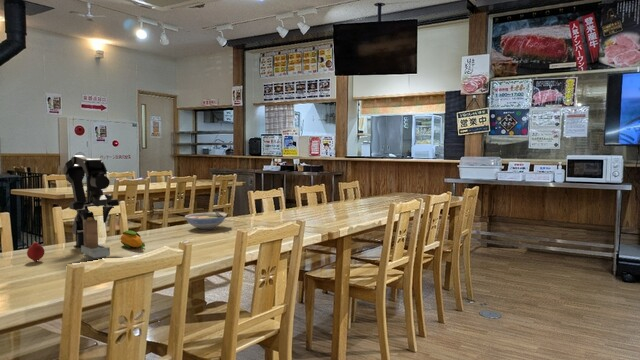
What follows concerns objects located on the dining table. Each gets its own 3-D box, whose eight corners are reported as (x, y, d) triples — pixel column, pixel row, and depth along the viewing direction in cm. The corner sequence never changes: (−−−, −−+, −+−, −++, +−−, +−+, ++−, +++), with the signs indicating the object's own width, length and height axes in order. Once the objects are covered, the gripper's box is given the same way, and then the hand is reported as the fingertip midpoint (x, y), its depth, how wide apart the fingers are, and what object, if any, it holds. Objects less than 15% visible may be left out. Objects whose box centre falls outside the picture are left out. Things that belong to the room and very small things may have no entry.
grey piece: (78, 257, 186) (78, 245, 186) (99, 254, 192) (99, 242, 192) (91, 263, 176) (90, 250, 176) (112, 259, 182) (112, 246, 182)
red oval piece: (41, 259, 185) (40, 239, 184) (47, 261, 181) (46, 241, 180) (25, 261, 180) (24, 241, 180) (30, 264, 176) (29, 243, 176)
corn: (132, 227, 215) (149, 232, 200) (134, 242, 216) (151, 249, 201) (116, 230, 210) (132, 235, 195) (118, 246, 211) (134, 253, 196)
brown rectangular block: (83, 246, 187) (82, 217, 187) (93, 245, 190) (92, 216, 189) (88, 248, 184) (87, 218, 183) (98, 247, 187) (97, 217, 186)
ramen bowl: (184, 226, 263) (184, 211, 263) (224, 223, 270) (224, 210, 269) (185, 233, 239) (184, 218, 239) (229, 230, 246) (229, 215, 246)
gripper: (77, 190, 184) (79, 228, 185) (123, 187, 198) (125, 223, 199) (68, 188, 192) (69, 225, 193) (113, 186, 205) (114, 220, 207)
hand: (95, 223), depth 198 cm, fingers open, 7 cm apart
